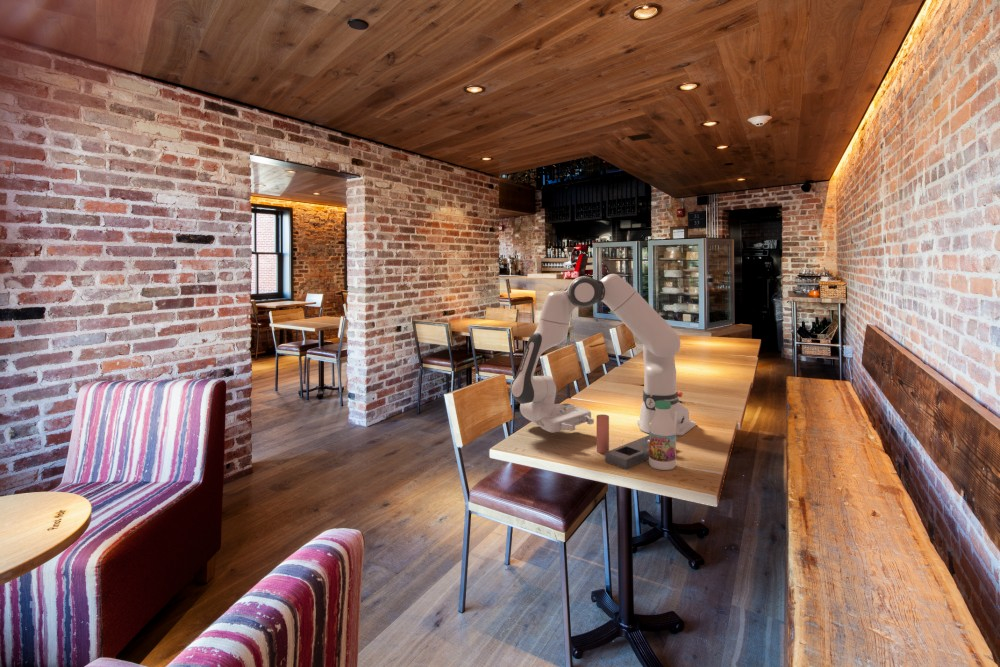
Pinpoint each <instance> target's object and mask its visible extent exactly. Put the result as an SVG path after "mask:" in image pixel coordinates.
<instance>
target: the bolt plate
mask: <svg viewBox="0 0 1000 667" xmlns="http://www.w3.org/2000/svg"><path fill="white" fill-rule="evenodd" d="M650 424H651V422H650ZM647 459H648V460H649V435H645V436H644V437H642V438H638V439H635V440H633V441H631V442H629V443H626V444H623V445H621V446H618V447H616V448H613V449H611V450H610V449H609V451H608V452H605V454H604V462H605V463H608V464H610V465H613V466H616V467H619V468H622V469H624V470H628V469H630V468H633V467H635V466H637V465H639V464H641V462H642V463H643V461H644V462H646V461H648V460H647ZM645 460H646V461H645Z"/></svg>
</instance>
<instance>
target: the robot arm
mask: <svg viewBox="0 0 1000 667" xmlns="http://www.w3.org/2000/svg"><path fill="white" fill-rule="evenodd" d="M599 302H602V303H603V304H605V306H607V307H608V308H609V309H610V311H611V312H612V313H613V314H614V315H615V316H616V317H617V318H618V319H619V321H621V323H623V324H624V325H625V326H626V328H628V329H629V331H630V332H631V333H632V334H633V335H634V336H635V337H636V338H637V339H638V341H639V342H641V344H642V355H643V357H642V358H643V369H644V370H643V371H644V379H643V380H644V382H643V384H644V386H643V387H644V388H643V391H642V403H641V406H640V410H639V411H640V413H639V420H637V423H636V424H637V425H638V426H639V428H638V429H639V430H640V431H642V432H644V433H645V434H649V430H650V422H651V421H652V419H653V417H654V415H655V412H656V409H655V402H656V401H659V400H665V401H669V402H671V410H670V414H671V417H672V420H673V422H674V424H675V428H676V436H684V435H685V434H686V433H688V432H689V431H690V430H691V429H693V428H694V427H696V426H697V423H696V421H694V420H692V419H690V411H689V410H688V408H687V407H685V405H683V404H682V403H681V402H680V401H679V398H682V397H683V392H682V391H679V390H677V368H676V363H675V362H676V361H675V355H677V354H678V352H679V350H680V349H681V348H680V347H681V339H680V338H681V337H680V336H679V334H678V333H677V331H676V330H675V329H674V328H673V327H672V326H671V325H670V324H669V323H668V322H667V321H666V320H665V319H664V318H663V317H662V316H661V315H660V314H659V313H658V311H656V310H655V309H654V308H653V306H652V305H650V304H649V302H647V300H646V299H644V298H643V296H642V295H640V293H639V292H638V291H637V290H636V289H635V288H634V286H632V285H631V284H630V283H629V282H628V281H626V280H625V279H624V278H623V277H621V276H619V275H618V274H617V273H610V274H607V275H605V276H604V277H602V278H601V279H594V278H593V277H592V278H591V277H590V276H585V275H583V276H578V277H576V278H574V279H573V280H571V282H570V284H569V285H568V286H567V287H566V289H564V290H562V291H561V290H554V291H550V292H549V293H547V295H546V296H545V299H544V302H543V305H542V308H541V312H540V316H539V321H538V325H537V326H536V329H535V331H534V332H533V333H532V334H531V335H530V336H529V338H528V341H527V343H526V345H525V348H524V351H523V354H522V358H521V361H520V364H519V367H518V370H517V372H516V375H515V377H514V379H513V381H512V383H511V385H510V392H511V395H512V397H513V398H514V400H515V401H516V402H518V404H520V405H519V412H520V413H521V415H522V416H523V417H524V418H525V419H527V420H528V421H529V422H533V423H535V424H536V425H537V426H539V427H540V428H541V429H542V430H544V431H547V432H549V433H553V434H554V433H557V432H561V431H570V432H572V431H575V430H576V426H579V425H582V424H585V423H586V424H587V425H594V423H595V422H594V421H595V420H594V418H592V412H591V411H590V410H589V409H587V408H584V407H581V406H576V405H574V404H573V403H555V402H556V398H557V394H558V387H557V383H556V381H555V379H554V378H553V377H552V376H550V375H534V374H535V373H536V368H537V365H538V362H539V359H540V357H541V355H542V354H543V353H545V352H546V351H547V350H548V349H551V348H553V347H555V346H558V345H560V344H562V342H564V341H565V340H566V337H567V335H568V332H569V328H570V323H571V318H572V315H573V311H574V310H575V309H576V308H589V307H591V306H594V305H595V304H597V303H599Z"/></svg>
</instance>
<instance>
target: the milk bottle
mask: <svg viewBox="0 0 1000 667" xmlns="http://www.w3.org/2000/svg"><path fill="white" fill-rule="evenodd" d="M655 409H656V412H655V415H654V417H653V419H652V421H651V424H650V430H649V433H648V434H649V459H648V464H649V466H650V467H651V468H653V469H655V470H658V471H659V470H660V471H670V470H672V469H675V468H676V458H677V457H676V456H677V435H676V428H675V424H674V422H673V420H672V417H671V414H670V410H671V402H669V401H665V400H659V401H656V402H655Z"/></svg>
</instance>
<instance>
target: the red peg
mask: <svg viewBox="0 0 1000 667" xmlns="http://www.w3.org/2000/svg"><path fill="white" fill-rule="evenodd" d="M608 451H610V416H609V415H608V414H597V415H596V452H597V453H598V454H602V455H605V452H608Z"/></svg>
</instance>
